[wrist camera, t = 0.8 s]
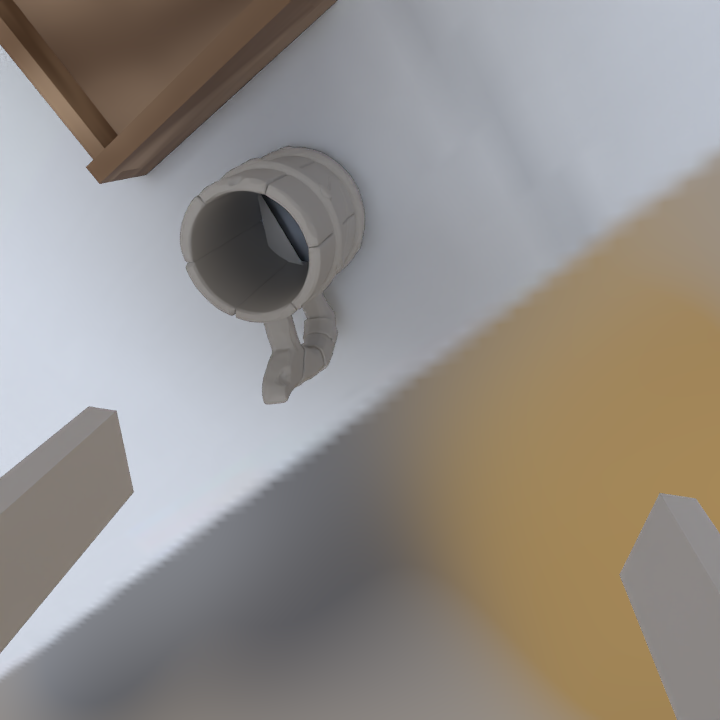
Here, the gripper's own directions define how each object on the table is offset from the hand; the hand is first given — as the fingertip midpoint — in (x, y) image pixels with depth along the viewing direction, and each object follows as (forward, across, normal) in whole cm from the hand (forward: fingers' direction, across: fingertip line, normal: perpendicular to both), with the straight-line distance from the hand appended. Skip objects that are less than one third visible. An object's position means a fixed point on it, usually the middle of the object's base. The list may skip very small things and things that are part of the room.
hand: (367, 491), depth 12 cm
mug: (+20, -6, +1) cm, 21 cm away
